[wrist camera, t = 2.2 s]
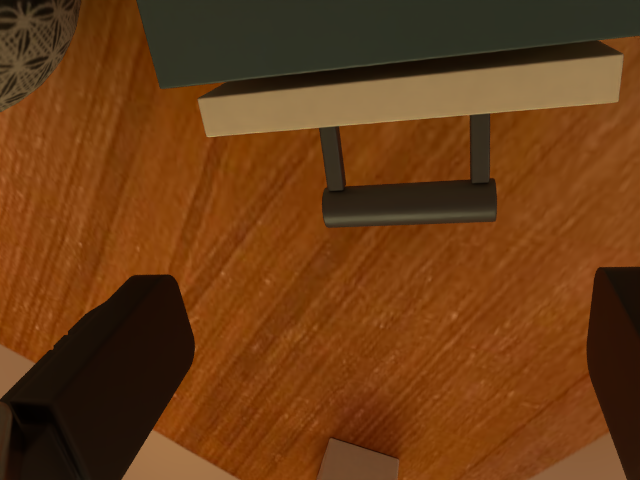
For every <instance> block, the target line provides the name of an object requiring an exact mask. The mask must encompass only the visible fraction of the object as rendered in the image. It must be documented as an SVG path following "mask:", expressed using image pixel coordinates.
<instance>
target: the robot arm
mask: <svg viewBox="0 0 640 480" xmlns="http://www.w3.org/2000/svg"><path fill="white" fill-rule="evenodd" d="M194 351H195V342H194V336H193V332H192V329H191V326H190V322H189V319H188V316H187V313H186V309H185V306H184V303H183V299H182V296H181V293H180V289H179V286H178V283H177V281H176V280H175V278H174V277H173V276H171V275H134V276H131V277H130V278H129V279H128V280H127V281H126V282H125V283H124V284H123V285H122V286H121V287H120V288H119V289H118V290H117V291H116V292H115V293H114V294H113V295H112V296H111V297H110V298H109V299H108V300H107V301H106V302H104V303H103V304H101V305H99V306H98V307H96V308H95V309H93V310H91V311H90V312H88V313H87V314H85V315H84V316H83V317H82V318H81V319H80V320H79V321H78V322H77V323H76V324H75V325H74V326H73V327H72V328H71V329H70V330H69V331H68V335H64V336H63V337H62V338H61V339H60V340H59V341H58V342H57V343H56V344H55V345H54V349H53V350H49V351H48V352H47V353H46V354H45V355H44V356H43V357H42V358H41V359H40V360H39V361H38V362H37V363H36V364H35V365H34V366H33V367H32V368H31V369H30V370H29V371H28V372H27V373H26V374H25V375H24V376H23V377H22V378H21V379H20V380H19V381H18V382H17V383H16V384H15V385H14V386H13V387H12V388H11V389H10V390H9V391H8V392H7V393H6V394H5V395H4V396H3V397H2V398H1V399H0V480H121V479H122V478H123V476H124V475H125V473H126V471H127V469H128V468H129V466H130V465H131V463H132V462H133V460H134V458H135V456H136V455H137V453H138V452H139V450H140V448H141V447H142V445H143V444H144V442H145V440H146V439H147V437H148V435H149V434H150V432H151V431H152V429H153V427H154V426H155V424H156V422H157V421H158V419H159V418H160V416H161V414H162V413H163V411H164V409H165V408H166V406H167V404H168V403H169V401H170V400H171V398H172V396H173V395H174V393H175V391H176V390H177V388H178V387H179V385H180V383H181V382H182V380H183V378H184V377H185V375H186V374H187V372H188V370H189V369H190V367H191V364H192V362H193V358H194ZM587 363H588V370H589V374H590V378H591V381H592V384H593V387H594V390H595V392H596V395H597V398H598V401H599V403H600V406H601V409H602V412H603V414H604V417H605V420H606V423H607V426H608V428H609V431H610V434H611V437H612V439H613V442H614V445H615V448H616V450H617V453H618V456H619V459H620V461H621V464H622V467H623V470H624V472H625V475H626V478H627V480H640V267H600V268H598V269H597V271H596V274H595V278H594V285H593V293H592V302H591V310H590V319H589V328H588V336H587Z"/></svg>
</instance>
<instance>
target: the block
mask: <svg viewBox="0 0 640 480" xmlns="http://www.w3.org/2000/svg"><path fill="white" fill-rule="evenodd" d="M398 466H399V459H396V458H393V457H390V456H387V455H384V454H381V453H377V452H374V451H371V450H368V449H365V448H362V447H358V446H355V445H352V444H349V443H346V442H343V441H339V440H336V439H333V438H330V439H329V443H328V446H327V449H326V452H325V455H324V458H323V461H322V464H321V467H320V470H319V473H318V476H317V480H397V477H398Z"/></svg>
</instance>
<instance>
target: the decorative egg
mask: <svg viewBox="0 0 640 480" xmlns="http://www.w3.org/2000/svg"><path fill="white" fill-rule="evenodd" d="M80 3H81V0H0V112H2V111H4V110H5V109H7V108H9V107H11V106H13V105H15V104H16V103H18V102H20V101H21V100H22V99H24V98H25V97H27V96H28V95H29V94H30V93H32V92H33V91H35V90H36V89H37V88H38V87H40V86H41V85H42V84H43V83H44V81H45V80H46V79H47V78H48V77H49V75H50V74H51V73H52V72H53V71H54V70H55V68H56V67H57V66H58V64H59V63H60V62H61V60H62V58H63V56H64V54H65V53H66V51H67V48H68V46H69V44H70V42H71V39H72V37H73V35H74V32H75V29H76V26H77V20H78V16H79V10H80Z"/></svg>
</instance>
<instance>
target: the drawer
mask: <svg viewBox="0 0 640 480" xmlns="http://www.w3.org/2000/svg"><path fill="white" fill-rule="evenodd" d="M623 58H624V55H623V53H621V52H619V51H617V50H615V49H613V48H611V47H609V46H607V45H605V44H603V43H601V42H599V41H597V40H596V41H587V42H578V43H569V44H560V45H551V46H542V47H533V48H524V49H516V50H507V51H498V52H489V53H480V54H471V55H462V56H453V57H444V58H435V59H426V60H417V61H408V62H399V63H390V64H381V65H372V66H363V67H355V68H346V69H337V70H328V71H319V72H310V73H301V74H292V75H283V76H274V77H265V78H256V79H247V80H238V81H229V82H226V83H224V84H222V85H221V86H219V87H217V88H215V89H214V90H212V91H210V92H208V93H206V94H205V95H203V96H201V97H199V98H198V103H199V107H200V111H201V115H202V120H203V124H204V128H205V132H206V136H207V137H214V136H226V135H238V134H250V133H262V132H273V131H285V130H297V129H309V128H319V131H320V138H321V145H322V152H323V159H324V166H325V173H326V180H327V187H328V188H325V189H324V192H323V197H322V212H323V219H324V222H325V225H326V227H328V228H333V227H360V226H388V225H415V224H442V223H470V222H494V221H496V215H497V194H496V183H495V179H493V178H490V113H498V112H509V111H521V110H533V109H545V108H557V107H568V106H580V105H592V104H604V103H615V102H618V100H619V92H620V84H621V75H622V66H623ZM462 115H470V178H471V180H454V181H436V182H418V183H400V184H382V185H364V186H346V187H345V185H346V180H345V172H344V164H343V156H342V148H341V140H340V132H339V126H344V125H356V124H368V123H380V122H391V121H403V120H415V119H427V118H439V117H450V116H462Z"/></svg>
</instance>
